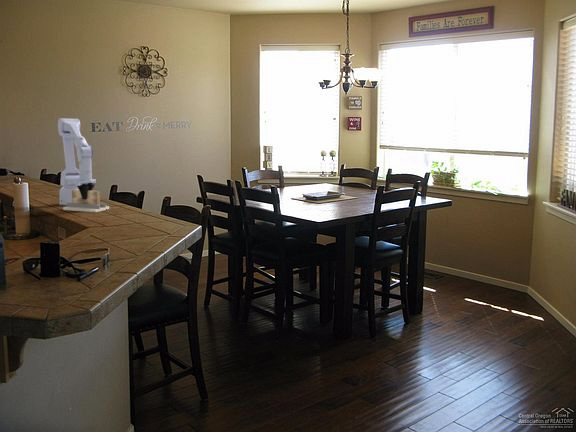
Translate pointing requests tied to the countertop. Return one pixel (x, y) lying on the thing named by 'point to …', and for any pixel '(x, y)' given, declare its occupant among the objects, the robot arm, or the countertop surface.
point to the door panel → (92, 197)
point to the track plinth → (85, 207)
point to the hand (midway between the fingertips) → (86, 199)
